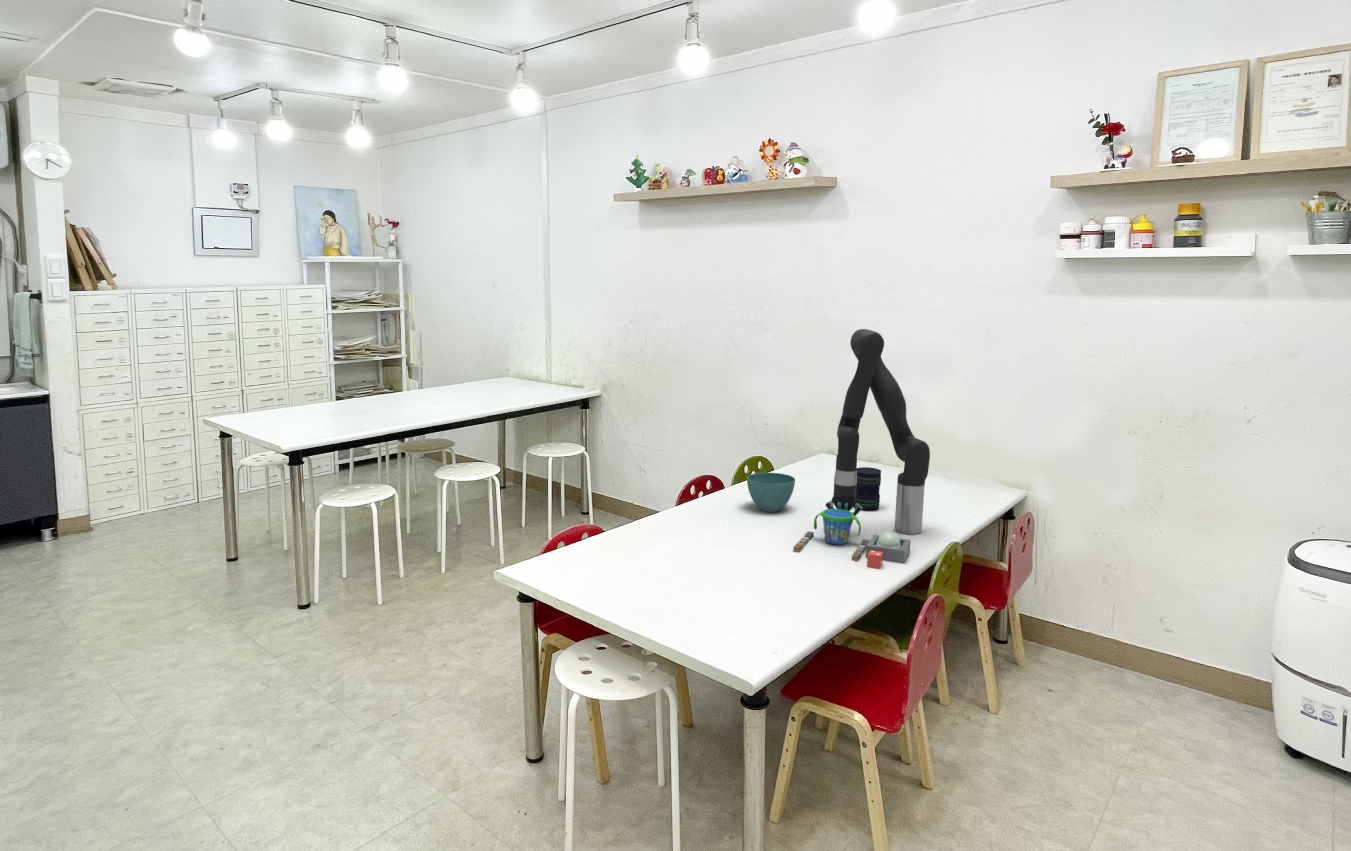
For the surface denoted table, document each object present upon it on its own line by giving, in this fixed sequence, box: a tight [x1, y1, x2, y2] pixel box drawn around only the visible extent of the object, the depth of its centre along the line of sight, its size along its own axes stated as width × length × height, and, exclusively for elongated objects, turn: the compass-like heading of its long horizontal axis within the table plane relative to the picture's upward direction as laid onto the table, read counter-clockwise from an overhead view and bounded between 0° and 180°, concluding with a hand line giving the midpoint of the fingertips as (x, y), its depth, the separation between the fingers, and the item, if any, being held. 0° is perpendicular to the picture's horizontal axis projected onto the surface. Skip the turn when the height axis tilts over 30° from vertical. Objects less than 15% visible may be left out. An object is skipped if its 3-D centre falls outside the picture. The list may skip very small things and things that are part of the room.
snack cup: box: [813, 508, 862, 546], centre depth 273 cm, size 16×10×10 cm
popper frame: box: [865, 534, 912, 564], centre depth 262 cm, size 12×12×4 cm
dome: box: [876, 531, 901, 549], centre depth 262 cm, size 8×8×7 cm
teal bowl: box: [746, 472, 796, 513], centre depth 310 cm, size 18×18×12 cm
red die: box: [866, 550, 884, 569], centre depth 252 cm, size 4×4×4 cm
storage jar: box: [853, 466, 882, 512], centre depth 313 cm, size 10×10×15 cm
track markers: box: [792, 530, 870, 562], centre depth 268 cm, size 18×21×2 cm
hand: (842, 530), depth 282 cm, fingers closed
